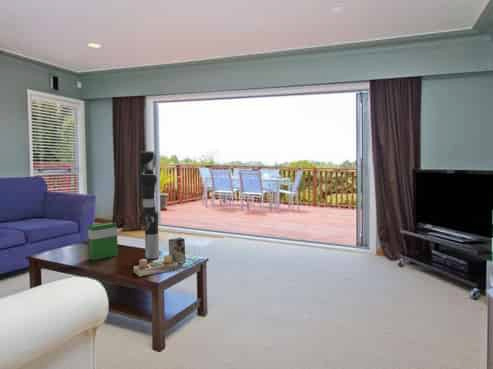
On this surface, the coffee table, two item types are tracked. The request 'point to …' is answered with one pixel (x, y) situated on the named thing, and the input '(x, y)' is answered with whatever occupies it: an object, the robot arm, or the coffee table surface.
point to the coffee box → (177, 249)
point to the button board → (155, 268)
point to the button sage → (155, 263)
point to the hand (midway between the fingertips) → (150, 232)
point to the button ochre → (167, 259)
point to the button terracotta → (143, 263)
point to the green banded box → (102, 240)
